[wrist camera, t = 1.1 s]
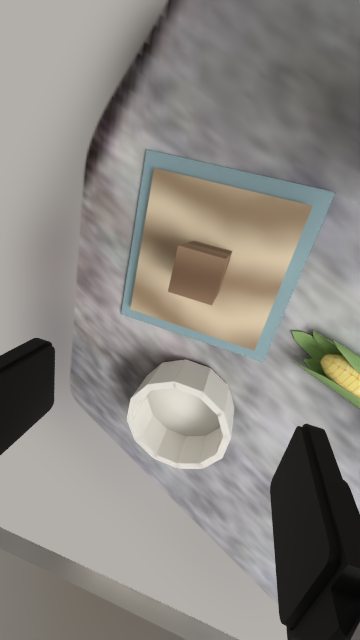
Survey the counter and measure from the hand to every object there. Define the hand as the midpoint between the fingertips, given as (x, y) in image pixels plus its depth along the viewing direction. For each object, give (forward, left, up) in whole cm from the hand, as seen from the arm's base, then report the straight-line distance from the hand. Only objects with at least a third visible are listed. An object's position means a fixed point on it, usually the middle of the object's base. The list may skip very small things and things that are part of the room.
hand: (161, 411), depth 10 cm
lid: (-2, -2, -21) cm, 21 cm away
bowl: (+16, 0, -21) cm, 27 cm away
